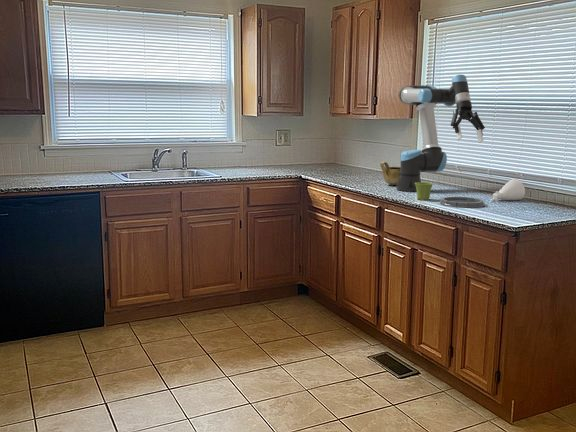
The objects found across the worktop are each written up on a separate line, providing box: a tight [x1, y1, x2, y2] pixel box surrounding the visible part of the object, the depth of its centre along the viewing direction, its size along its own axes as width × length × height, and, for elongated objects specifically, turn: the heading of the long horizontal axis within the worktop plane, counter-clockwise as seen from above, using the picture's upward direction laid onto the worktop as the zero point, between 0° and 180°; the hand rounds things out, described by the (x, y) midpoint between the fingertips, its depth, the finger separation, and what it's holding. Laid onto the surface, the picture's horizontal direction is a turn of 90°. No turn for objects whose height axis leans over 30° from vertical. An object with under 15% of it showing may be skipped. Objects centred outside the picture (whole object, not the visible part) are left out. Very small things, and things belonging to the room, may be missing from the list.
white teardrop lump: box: [489, 178, 526, 203], centre depth 311 cm, size 12×12×18 cm
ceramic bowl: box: [379, 161, 400, 187], centre depth 368 cm, size 22×17×15 cm
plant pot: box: [415, 181, 433, 201], centre depth 313 cm, size 9×9×9 cm
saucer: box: [438, 196, 485, 209], centre depth 299 cm, size 22×22×2 cm
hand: (470, 140), depth 301 cm, fingers open, 13 cm apart
